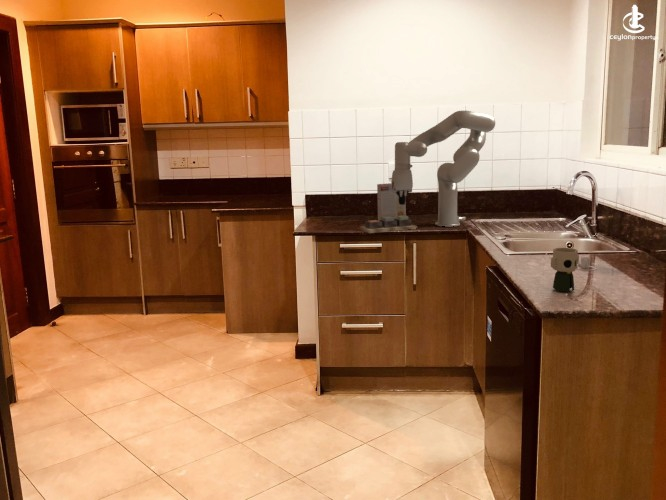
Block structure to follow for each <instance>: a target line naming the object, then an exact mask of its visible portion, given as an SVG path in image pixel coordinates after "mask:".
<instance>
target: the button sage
mask: <svg viewBox="0 0 666 500" xmlns="http://www.w3.org/2000/svg"><path fill="white" fill-rule="evenodd" d="M397 219H398V220H409V219H410V218H409V216H408V215H406V216H405V215H402V216H397Z"/></svg>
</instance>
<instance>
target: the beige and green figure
mask: <svg viewBox="0 0 666 500" xmlns="http://www.w3.org/2000/svg"><path fill="white" fill-rule="evenodd" d="M579 258H580V255H579V251H578V249H576V248H572V247H556V248H553V250H552V257H550V267H551V268H552V270H554V271H556V272H555V274H554V278H553V284H552V289H553V290H556V291H559V292H564V293H565V292H570V290H571V291H575V281H574V278H575V277H574V273H573V272H575V271H576V270H578V269H577V268H578V267H577V265H578V262H579V261H580V259H579Z"/></svg>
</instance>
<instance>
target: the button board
mask: <svg viewBox="0 0 666 500" xmlns="http://www.w3.org/2000/svg"><path fill="white" fill-rule="evenodd" d="M368 221H369V220H364V225H363V226H359V230H360V231H362V232H364V233H367V234H375V233H386V232H387V233H388V232H397V231H408V229H411V230H417V229H418V225H415V224H412V218H411V219H410V218H409V220H398V219H394V221H383V220H380V221H379V222H373V223H370V222H368ZM377 221H378V219H377ZM416 228H417V229H416Z"/></svg>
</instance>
